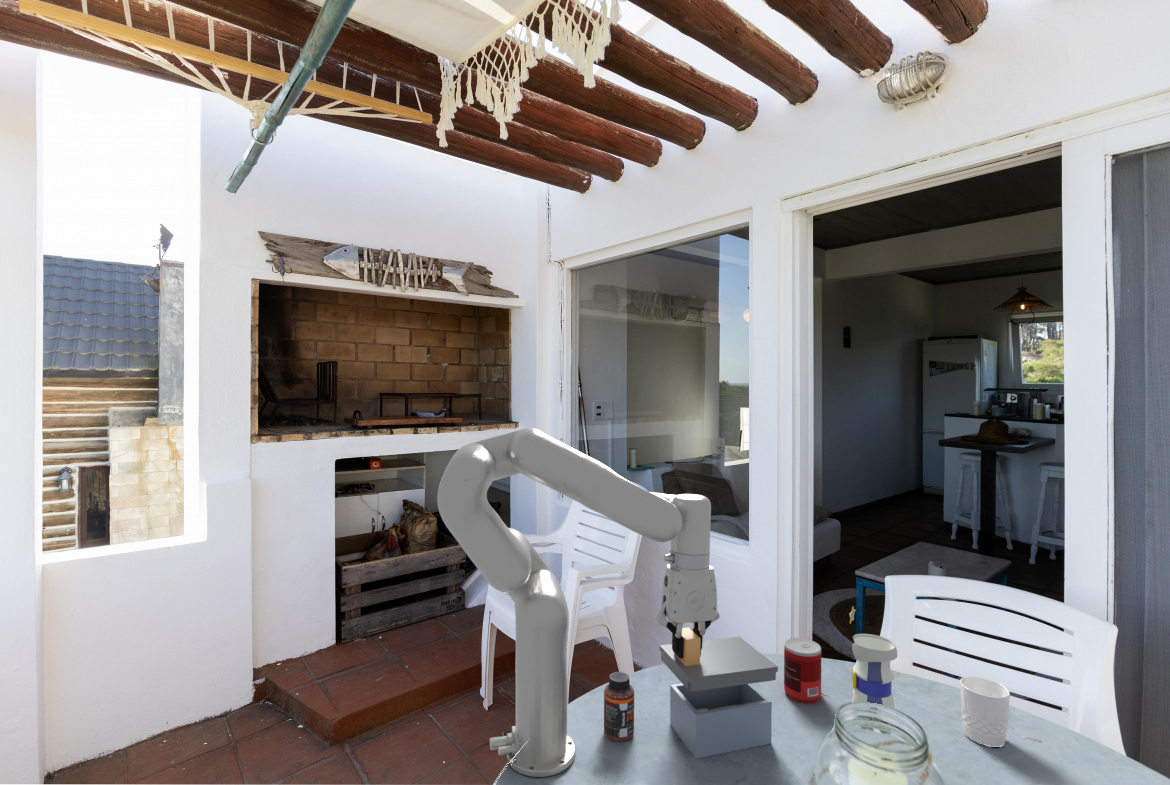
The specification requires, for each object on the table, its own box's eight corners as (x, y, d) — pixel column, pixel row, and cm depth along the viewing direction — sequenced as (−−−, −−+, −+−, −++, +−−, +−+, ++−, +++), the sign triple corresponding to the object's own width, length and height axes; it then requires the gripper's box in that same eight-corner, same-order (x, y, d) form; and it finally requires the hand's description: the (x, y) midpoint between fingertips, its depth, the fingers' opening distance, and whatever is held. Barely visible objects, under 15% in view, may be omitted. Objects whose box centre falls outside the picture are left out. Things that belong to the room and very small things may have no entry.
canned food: (824, 691, 126) (824, 642, 126) (817, 708, 119) (817, 656, 119) (788, 681, 130) (788, 634, 130) (780, 697, 124) (780, 648, 124)
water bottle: (849, 749, 106) (850, 617, 106) (847, 724, 114) (848, 601, 114) (899, 760, 103) (900, 624, 102) (893, 734, 111) (894, 607, 110)
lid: (689, 691, 101) (690, 650, 101) (659, 657, 114) (660, 620, 114) (777, 679, 107) (778, 640, 107) (738, 648, 120) (740, 613, 119)
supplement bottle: (632, 745, 107) (632, 686, 107) (601, 741, 108) (601, 682, 108) (635, 726, 113) (635, 670, 113) (606, 723, 114) (606, 667, 114)
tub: (695, 758, 103) (696, 715, 103) (670, 724, 114) (670, 685, 114) (771, 743, 108) (771, 701, 108) (739, 711, 118) (740, 673, 118)
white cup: (965, 720, 115) (965, 672, 115) (1012, 737, 110) (1013, 686, 109) (955, 737, 110) (955, 686, 110) (1005, 756, 104) (1005, 702, 104)
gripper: (658, 568, 103) (655, 668, 103) (737, 562, 107) (734, 658, 107) (642, 556, 110) (640, 650, 110) (717, 551, 114) (714, 641, 115)
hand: (686, 653), depth 109 cm, fingers closed on lid, 3 cm apart
